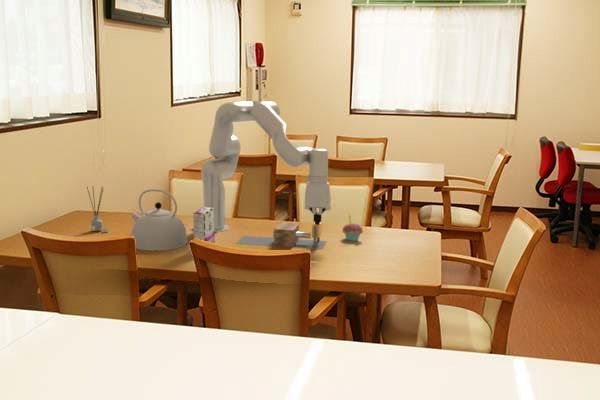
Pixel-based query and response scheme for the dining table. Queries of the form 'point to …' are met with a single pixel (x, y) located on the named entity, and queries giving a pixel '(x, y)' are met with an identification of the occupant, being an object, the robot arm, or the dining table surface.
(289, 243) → the hitch block
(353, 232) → the cupcake
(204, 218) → the candy bar box
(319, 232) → the beige small block
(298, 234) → the pin
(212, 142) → the robot arm
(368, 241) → the dining table surface
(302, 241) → the base mat
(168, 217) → the kettle
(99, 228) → the reed diffuser
